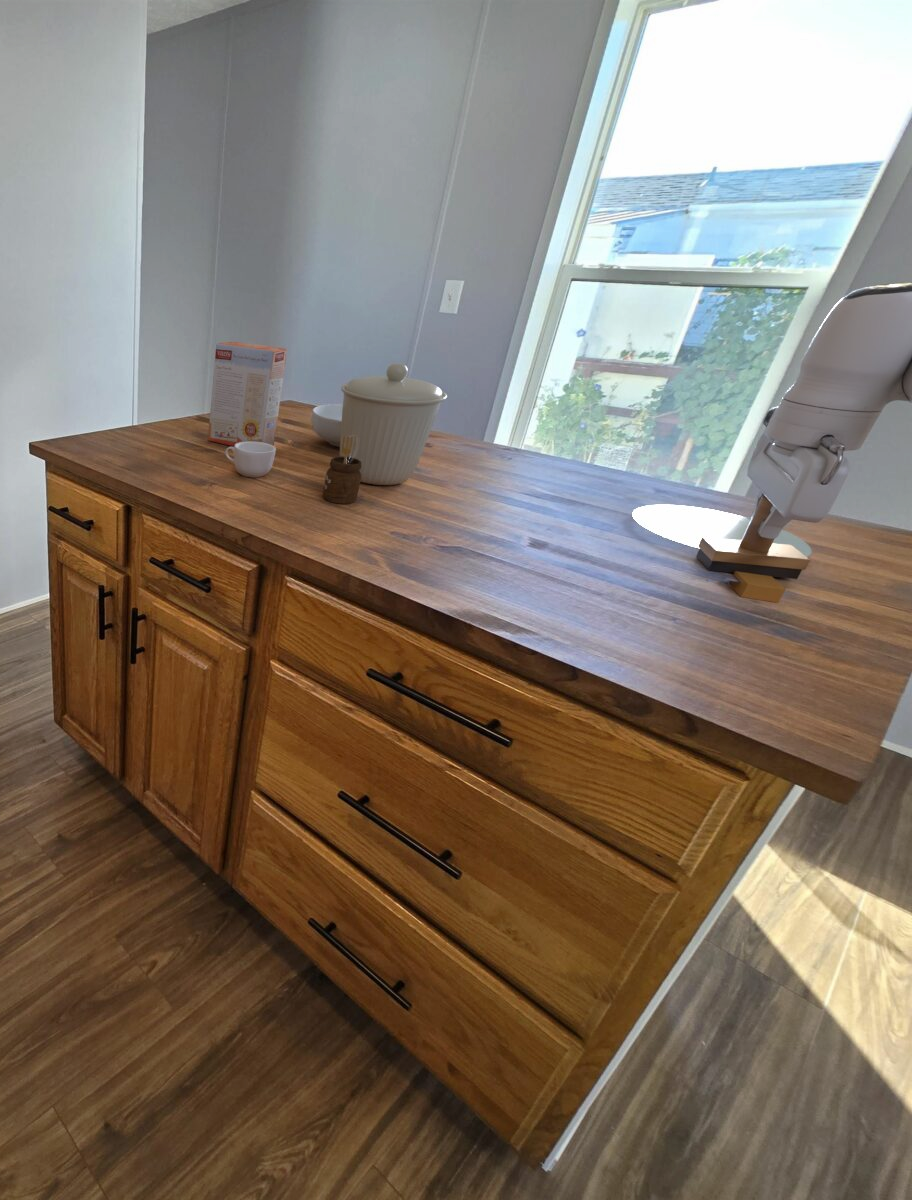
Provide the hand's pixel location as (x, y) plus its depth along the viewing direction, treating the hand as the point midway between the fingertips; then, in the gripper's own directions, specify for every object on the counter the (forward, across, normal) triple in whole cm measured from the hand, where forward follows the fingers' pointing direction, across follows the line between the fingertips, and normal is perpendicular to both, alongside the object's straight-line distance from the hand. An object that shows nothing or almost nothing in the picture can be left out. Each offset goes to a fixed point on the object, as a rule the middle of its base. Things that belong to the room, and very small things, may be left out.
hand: (761, 530), depth 88 cm
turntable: (+7, +16, 0) cm, 18 cm away
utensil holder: (+8, +2, +55) cm, 56 cm away
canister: (+8, +18, +52) cm, 56 cm away
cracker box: (+8, +25, +82) cm, 86 cm away
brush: (+6, 0, 0) cm, 6 cm away
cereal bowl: (+8, +39, +62) cm, 74 cm away
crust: (+7, -4, -1) cm, 8 cm away
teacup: (+7, +7, +74) cm, 75 cm away
